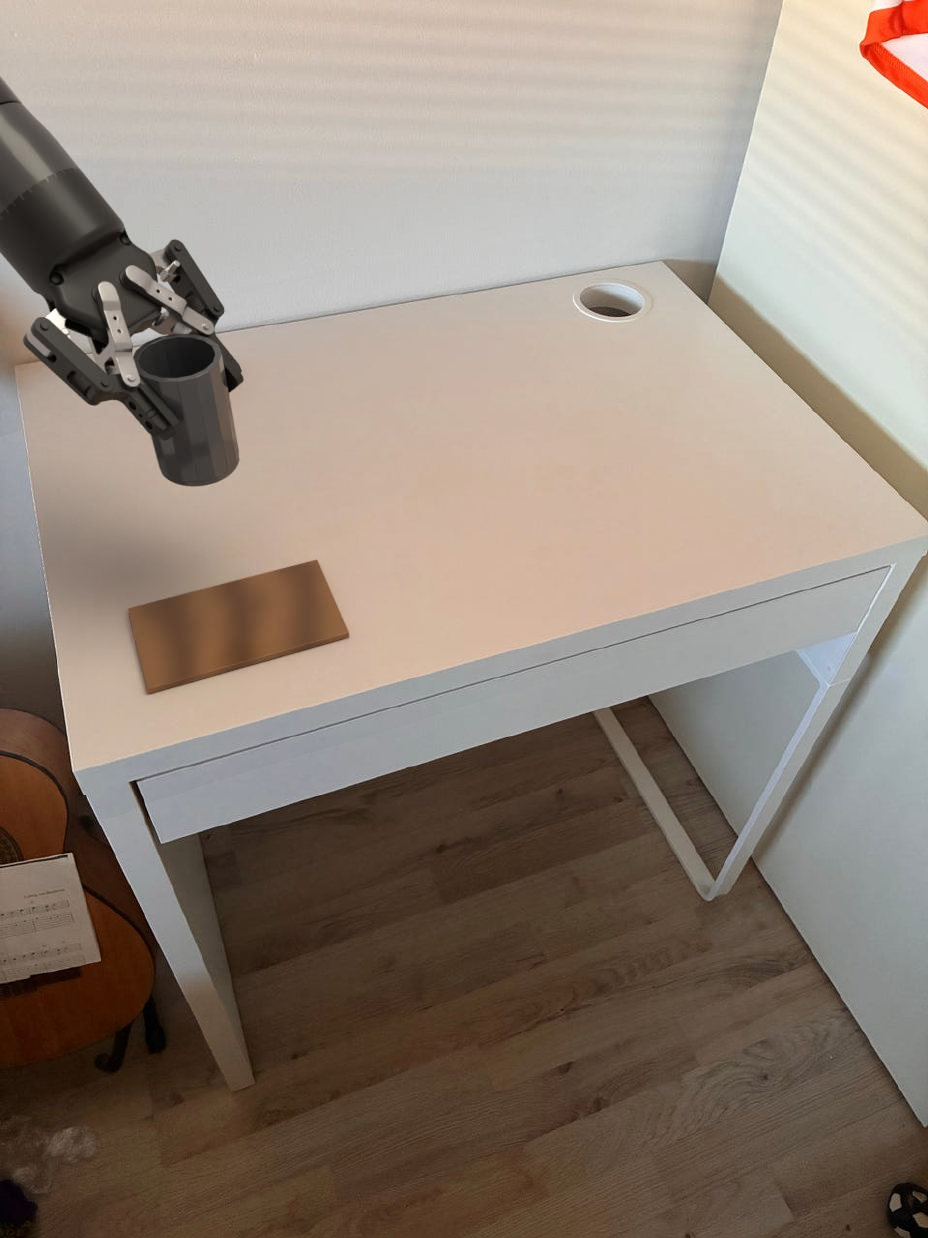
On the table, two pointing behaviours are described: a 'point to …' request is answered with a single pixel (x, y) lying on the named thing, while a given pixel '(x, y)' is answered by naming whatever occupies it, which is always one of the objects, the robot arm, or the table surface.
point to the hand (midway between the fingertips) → (205, 409)
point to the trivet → (235, 625)
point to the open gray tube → (191, 408)
